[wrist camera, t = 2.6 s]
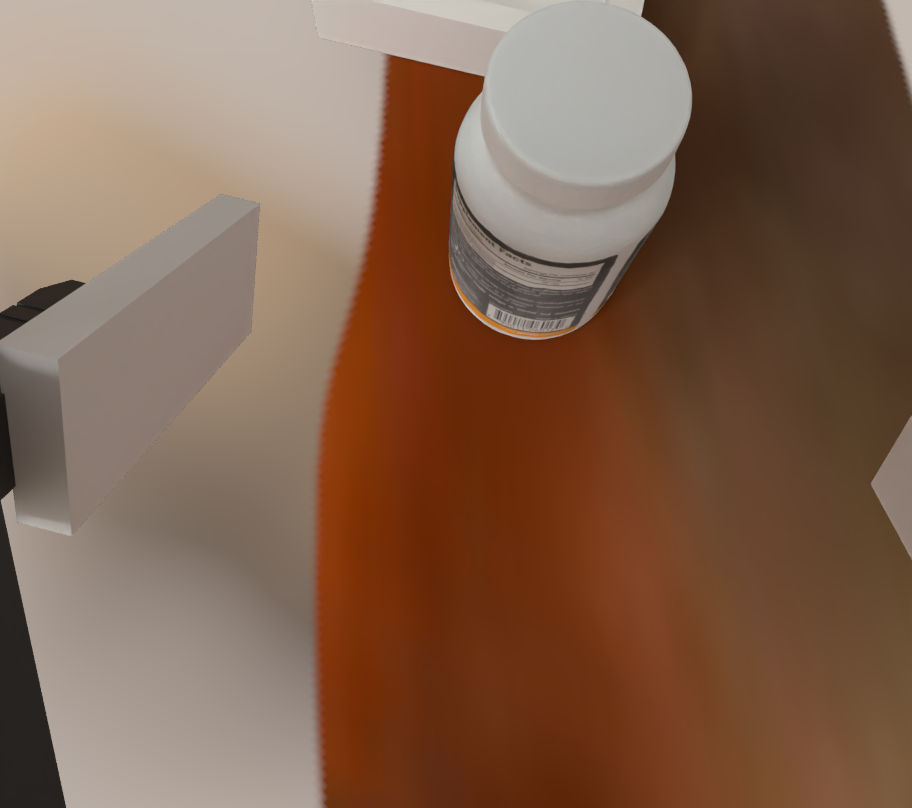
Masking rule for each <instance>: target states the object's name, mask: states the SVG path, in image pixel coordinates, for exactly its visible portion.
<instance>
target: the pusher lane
mask: <svg viewBox="0 0 912 808" xmlns="http://www.w3.org/2000/svg"><path fill="white" fill-rule="evenodd" d="M570 1H571V2H573V1H595V2H603V3H608V4H612V5H615V6H618V7H621V8H624V9H626V10H629V11H631V12H633V13H635V14H637V15H639V16H641V14H642V10H643V5H644V0H311V2H312V7H313V12H314V18H315V23H316V29H317V34H318V38H322V39H326V40H330V41H335V42H339V43H343V44H347V45H351V46H356V47H360V48H365V49H369V50H373V51H378V52H381V53H386V54H390V55H394V56H399V57H403V58H407V59H411V60H416V61H420V62H424V63H429V64H433V65H437V66H441V67H446V68H450V69H454V70H459V71H463V72H467V73H472V74H476V75H480V76H484V77H485V74H486V70H487V66H488V63H489V60H490V58H491V56H492V54H493V52H494V50H495V48H496V46H497V45H498V43H499V42H500V40H501V39H502V38H503V37H504V35H505V34H506V33H507V32H508V31H509V30H510V29H511V28H512V27H513V26H514V25H515V24H516V23H518V22H519V21H520V20H522V19H523V18H525V17H526V16H528V15H530V14H532V13H534V12H536V11H538V10H540V9H543V8H545V7H548V6H551V5H554V4H558V3H563V2H570Z"/></svg>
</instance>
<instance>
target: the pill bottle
mask: <svg viewBox="0 0 912 808" xmlns="http://www.w3.org/2000/svg"><path fill="white" fill-rule="evenodd" d="M691 108H692V90H691V83H690V79H689V75H688V72H687V69H686V66H685V64H684V63H683V60H682V58H681V56H680V55H679V53H678V51H677V50H676V48H675V47H674V45H673V44H672V43H671V42H670V40H669V39H668V38H667V37H666V36H665V35H664V34H663V33H662V32H661V31H660V30H659V29H658V28H657V27H655V26H654V25H653V24H651V23H650V22H649V21H647V20H646V19H644V18H643V17H641V16H639V15H637V14H635V13H633V12H631V11H629V10H626V9H624V8H621V7H618V6H615V5H612V4H608V3H603V2H595V1H573V2H571V1H570V2H563V3H558V4H554V5H551V6H548V7H545V8H543V9H540V10H538V11H536V12H534V13H532V14H530V15H528V16H526V17H525V18H523V19H522V20H520V21H519V22H518V23H516V24H515V25H514V26H513V27H512V28H511V29H510V30H509V31H508V32H507V33H506V34H505V35H504V37H503V38H502V39H501V40H500V42H499V43H498V45H497V46H496V48H495V50H494V52H493V54H492V56H491V58H490V60H489V63H488V66H487V70H486V74H485V79H484V85H483V91H482V92H481V93H480V95H479V96H478V97H477V98H476V100H475V101H474V102H473V104H472V105H471V107H470V108H469V110H468V112H467V114H466V115H465V118H464V120H463V122H462V124H461V127H460V129H459V132H458V135H457V138H456V143H455V149H454V154H453V166H452V168H453V181H452V194H451V213H450V232H449V233H450V235H449V265H450V272H451V277H452V280H453V283H454V286H455V289H456V291H457V293H458V295H459V297H460V298H461V300H462V301H463V303H464V304H465V306H466V307H467V308H468V309H469V310H470V312H471V313H472V314H473V315H474V316H476V317H477V318H478V319H479V320H480V321H482V322H483V323H484V324H486V325H487V326H489V327H490V328H492V329H494V330H496V331H498V332H500V333H503V334H506V335H509V336H512V337H516V338H521V339H532V340H540V339H549V338H554V337H558V336H562V335H564V334H567V333H570V332H572V331H574V330H576V329H578V328H579V327H581V326H583V325H584V324H585V323H587V322H588V321H589V320H590V319H591V318H593V317H594V316H595V315H596V314H597V312H598V311H599V310H600V309H601V308H602V306H603V305H604V304H605V303H606V301H607V300H608V298H609V297H610V296H611V294H612V293H613V292H614V290H615V288H616V286H617V285H618V283H619V281H620V280H621V278H622V277H623V275H624V273H625V272H626V270H627V269H628V267H629V265H630V264H631V262H632V261H633V259H634V258H635V256H636V255H637V253H638V252H639V250H640V249H641V247H642V246H643V244H644V243H645V241H646V239H647V238H648V236H649V235H650V234H651V232H652V231H653V229H654V227H655V226H656V224H657V223H658V221H659V220H660V218H661V217H662V215H663V213H664V211H665V209H666V207H667V204H668V201H669V199H670V196H671V192H672V188H673V183H674V176H675V152H676V150H677V149H678V147H679V145H680V143H681V141H682V139H683V136H684V134H685V132H686V129H687V126H688V123H689V120H690V115H691Z"/></svg>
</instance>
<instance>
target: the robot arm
mask: <svg viewBox="0 0 912 808" xmlns="http://www.w3.org/2000/svg"><path fill="white" fill-rule="evenodd" d="M259 211H260V203H256V202H252V201H248V200H244V199H240V198H236V197H231V196H228V195H223V194H220V195H219V196H217V197H216V198H214V199H213V200H211V201H210V202H208V203H207V204H205V205H204V206H202V207H201V208H199V209H198V210H196V211H195V212H193V213H191V214H190V215H188V216H187V217H185V218H184V219H182V220H181V221H179V222H178V223H176V224H175V225H173V226H172V227H170V228H169V229H167V230H166V231H164V232H163V233H161V234H160V235H158V236H157V237H155V238H154V239H152V240H151V241H149V242H148V243H146V244H145V245H143V246H142V247H140V248H139V249H137V250H136V251H134V252H133V253H131V254H130V255H128V256H127V257H125V258H124V259H122V260H121V261H119V262H118V263H116V264H115V265H113V266H112V267H110V268H108V269H107V270H105V271H104V272H102V273H101V274H99V275H98V276H97V277H95V278H93V279H92V280H90V281H89V282H88V283H82V282H79V281H74V280H69V281H66V282H62V283H58V284H55V285H51V286H48V287H44V288H40V289H38V290H37V291H35V292H34V293H32V294H30V295H29V296H27V297H25V298H24V299H22V300H21V301H19V302H17V306H14V305H12V306H11V307H9V308H8V309H6V310H4V311H3V312H1V313H0V808H66V805H65V801H64V796H63V791H62V786H61V781H60V777H59V772H58V768H57V763H56V759H55V753H54V749H53V744H52V739H51V735H50V730H49V726H48V721H47V716H46V711H45V707H44V702H43V697H42V692H41V688H40V683H39V678H38V674H37V669H36V664H35V660H34V655H33V650H32V646H31V641H30V636H29V632H28V627H27V623H26V617H25V613H24V608H23V603H22V599H21V594H20V589H19V585H18V580H17V575H16V571H15V566H14V561H13V557H12V552H11V547H10V543H9V538H8V533H7V528H6V524H5V519H4V514H3V510H2V505H1V499H2V498H4V497H5V496H6V495H7V494H8V493H9V492H10V491H11V490H12V489H13V493H14V500H15V509H16V517H17V522H18V523H22V524H25V525H29V526H33V527H37V528H42V529H45V530H49V531H53V532H57V533H61V534H65V535H69V536H72V535H73V534H74V533H75V532H76V531H77V530H78V528H79V527H80V526H81V525H82V524H83V523H84V521H85V520H86V519H87V518H88V517H89V516H90V515H91V513H92V512H93V511H94V510H95V509H96V508H97V507H98V506H99V505H100V503H101V502H102V501H103V500H104V499H105V498H106V497H107V495H108V494H109V493H110V492H111V491H112V490H113V489H114V487H115V486H116V485H117V484H118V483H119V482H120V481H121V479H122V478H123V477H124V476H125V475H126V474H127V473H128V471H129V470H130V469H131V468H132V467H133V466H134V465H135V464H136V462H137V461H138V460H139V459H140V458H141V457H142V456H143V454H144V453H145V452H146V451H147V450H148V449H149V448H150V446H151V445H152V444H153V443H154V442H155V441H156V440H157V438H158V437H159V436H160V435H161V434H162V433H163V432H164V430H165V429H166V428H167V427H168V426H169V425H170V424H171V423H172V421H173V420H174V419H175V418H176V417H177V416H178V415H179V413H180V412H181V411H182V410H183V409H184V408H185V406H186V405H187V404H188V403H189V402H190V401H191V400H192V399H193V397H194V396H195V395H196V394H197V393H198V392H199V391H200V389H201V388H202V387H203V386H204V385H205V384H206V382H207V381H208V380H209V379H210V378H211V377H212V376H213V375H214V374H215V372H216V371H217V370H218V369H219V368H220V367H221V366H222V364H223V363H224V362H225V361H226V360H227V358H228V357H229V356H230V355H231V354H232V353H233V352H234V351H235V350H236V348H237V347H238V346H239V345H240V344H241V343H242V342H243V340H244V339H245V338H246V337H247V336H248V335H249V333H251V328H252V312H253V298H254V284H255V269H256V254H257V240H258V225H259V224H258V223H259ZM871 486H872V487H873V489H874V491H875V493H876V495H877V497H878V499H879V500H880V502H881V504H882V506H883V508H884V510H885V511H886V513H887V515H888V517H889V519H890V521H891V522H892V524H893V526H894V528H895V530H896V532H897V533H898V535H899V537H900V539H901V541H902V543H903V544H904V546H905V548H906V550H907V552H908V554H909V555H910V557H911V559H912V415H911V417H910V419H909V420H908V422H907V424H906V425H905V427H904V429H903V430H902V432H901V434H900V435H899V437H898V439H897V440H896V442H895V444H894V445H893V447H892V449H891V450H890V452H889V454H888V455H887V457H886V459H885V460H884V462H883V464H882V465H881V467H880V469H879V470H878V472H877V474H876V475H875V477H874V479H873V480H872V482H871Z"/></svg>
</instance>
